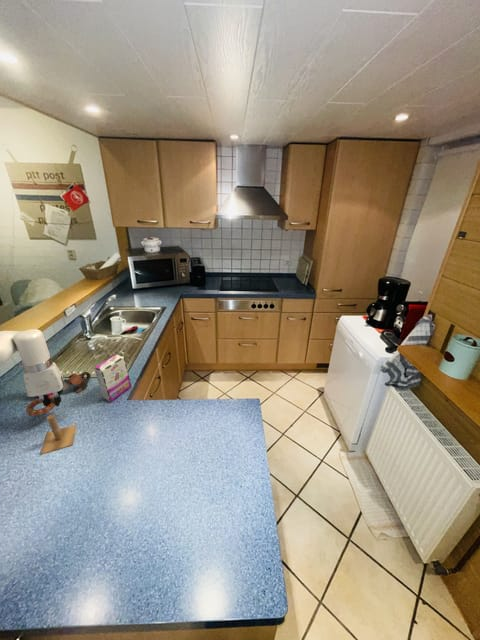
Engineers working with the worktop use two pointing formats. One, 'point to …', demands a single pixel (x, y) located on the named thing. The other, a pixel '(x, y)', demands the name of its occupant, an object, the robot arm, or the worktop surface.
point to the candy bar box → (113, 377)
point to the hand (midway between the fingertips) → (53, 404)
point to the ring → (41, 411)
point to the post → (58, 436)
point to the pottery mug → (79, 381)
